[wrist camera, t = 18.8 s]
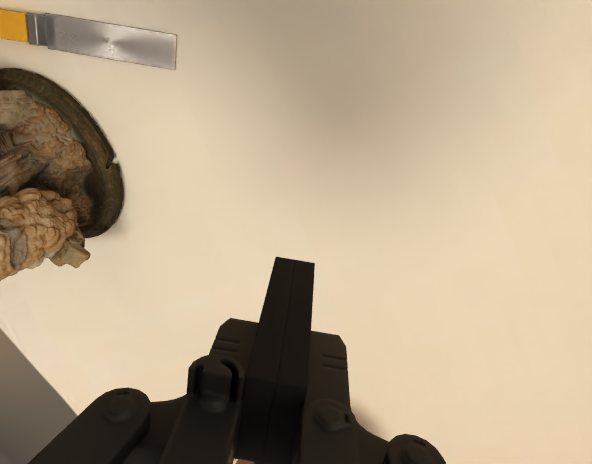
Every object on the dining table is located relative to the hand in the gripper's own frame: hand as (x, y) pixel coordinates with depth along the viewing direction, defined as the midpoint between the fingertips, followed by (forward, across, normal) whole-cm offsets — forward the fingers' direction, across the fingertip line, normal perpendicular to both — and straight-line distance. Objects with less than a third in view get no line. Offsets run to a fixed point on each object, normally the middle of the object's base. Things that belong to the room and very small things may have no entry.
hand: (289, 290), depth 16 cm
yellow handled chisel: (+24, -23, +7) cm, 34 cm away
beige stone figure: (+25, -24, -4) cm, 35 cm away
